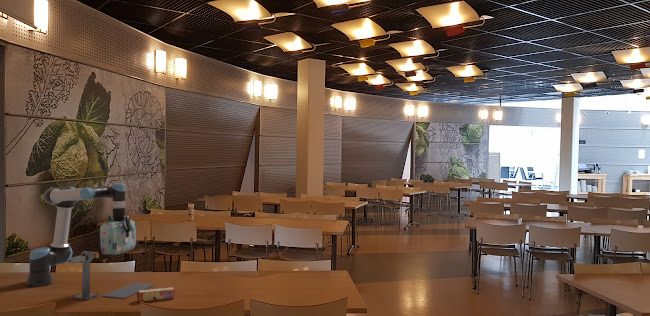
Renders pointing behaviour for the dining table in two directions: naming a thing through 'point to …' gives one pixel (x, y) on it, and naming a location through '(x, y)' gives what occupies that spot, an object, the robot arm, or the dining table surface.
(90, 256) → the latch post
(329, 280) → the dining table surface
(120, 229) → the lunch box
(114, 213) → the robot arm
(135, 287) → the mat
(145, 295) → the snack package
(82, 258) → the bolt
